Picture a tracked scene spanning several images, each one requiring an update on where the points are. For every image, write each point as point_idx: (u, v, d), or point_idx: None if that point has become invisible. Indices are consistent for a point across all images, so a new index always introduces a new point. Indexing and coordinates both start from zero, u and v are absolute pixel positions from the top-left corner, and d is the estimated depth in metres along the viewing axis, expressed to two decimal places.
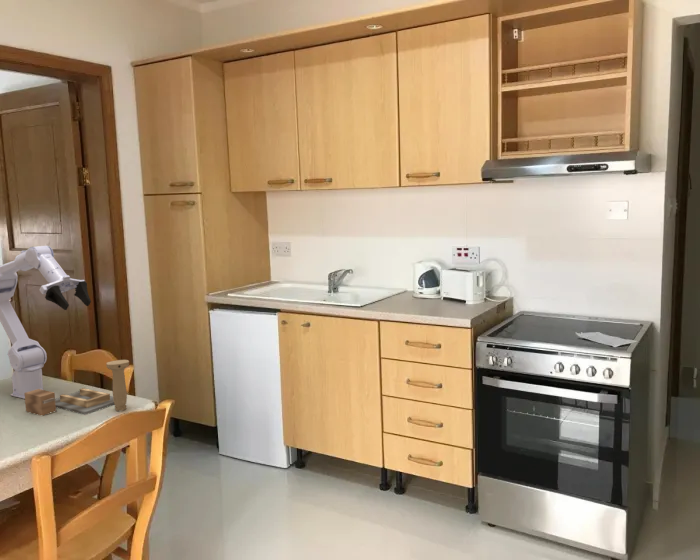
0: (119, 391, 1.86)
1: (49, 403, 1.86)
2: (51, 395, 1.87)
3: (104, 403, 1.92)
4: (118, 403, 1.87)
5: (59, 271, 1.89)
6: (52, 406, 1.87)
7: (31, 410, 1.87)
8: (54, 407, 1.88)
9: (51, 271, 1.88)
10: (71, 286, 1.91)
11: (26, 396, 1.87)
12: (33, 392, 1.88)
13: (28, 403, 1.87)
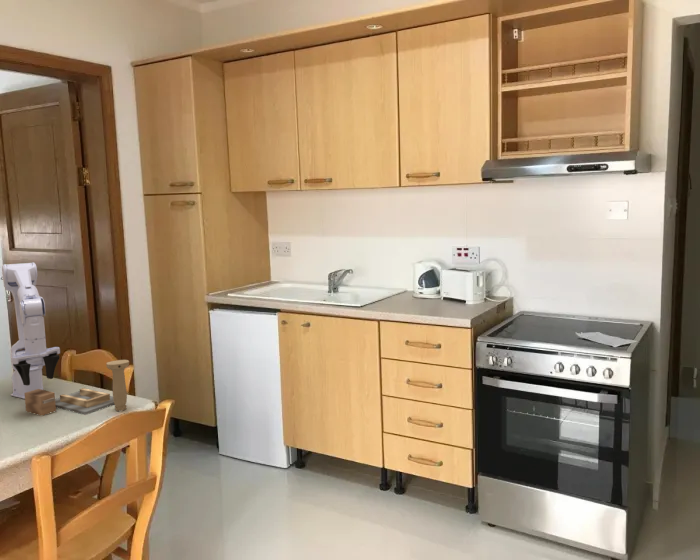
0: (119, 391, 1.86)
1: (49, 403, 1.86)
2: (51, 395, 1.87)
3: (104, 403, 1.92)
4: (118, 403, 1.87)
5: (40, 343, 1.84)
6: (52, 406, 1.87)
7: (31, 410, 1.87)
8: (54, 407, 1.88)
9: (32, 340, 1.83)
10: (43, 355, 1.88)
11: (26, 396, 1.87)
12: (33, 392, 1.88)
13: (28, 403, 1.87)
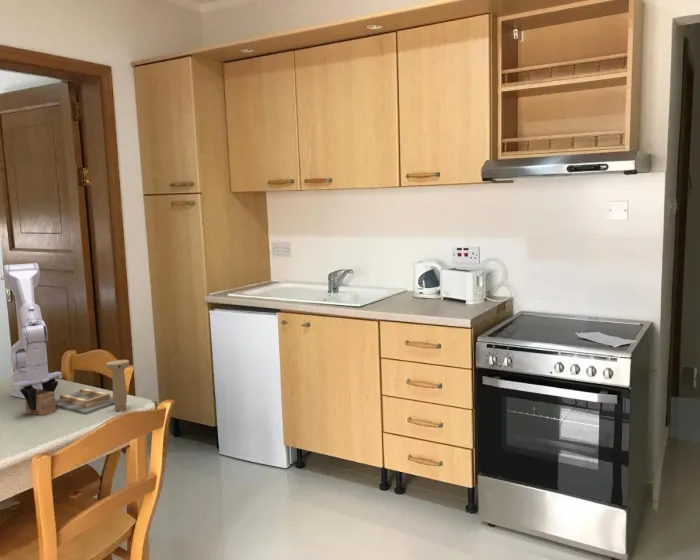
0: (119, 391, 1.86)
1: (49, 403, 1.86)
2: (51, 395, 1.87)
3: (104, 403, 1.92)
4: (118, 403, 1.87)
5: (42, 369, 1.85)
6: (52, 405, 1.87)
7: (31, 410, 1.87)
8: (54, 407, 1.88)
9: (35, 366, 1.84)
10: (45, 380, 1.89)
11: None
12: None
13: None
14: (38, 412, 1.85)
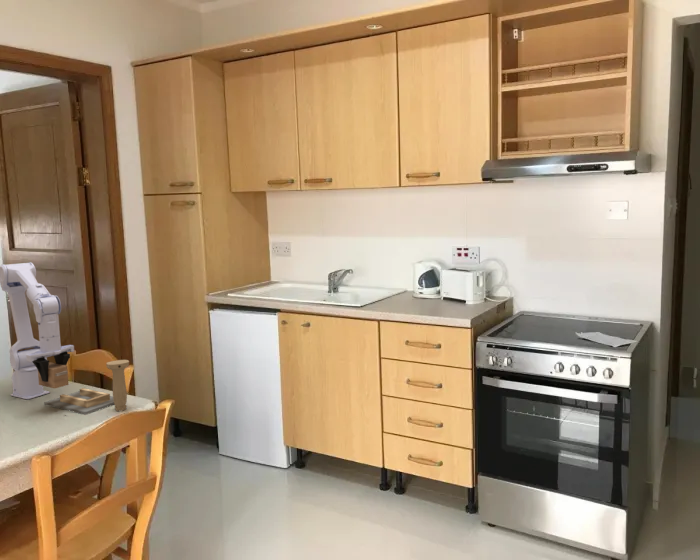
0: (119, 391, 1.86)
1: (62, 376, 1.88)
2: (64, 368, 1.88)
3: (104, 403, 1.92)
4: (118, 403, 1.87)
5: (55, 341, 1.86)
6: (65, 379, 1.89)
7: (44, 383, 1.88)
8: (67, 380, 1.89)
9: (47, 338, 1.85)
10: None
11: None
12: None
13: None
14: (51, 385, 1.86)
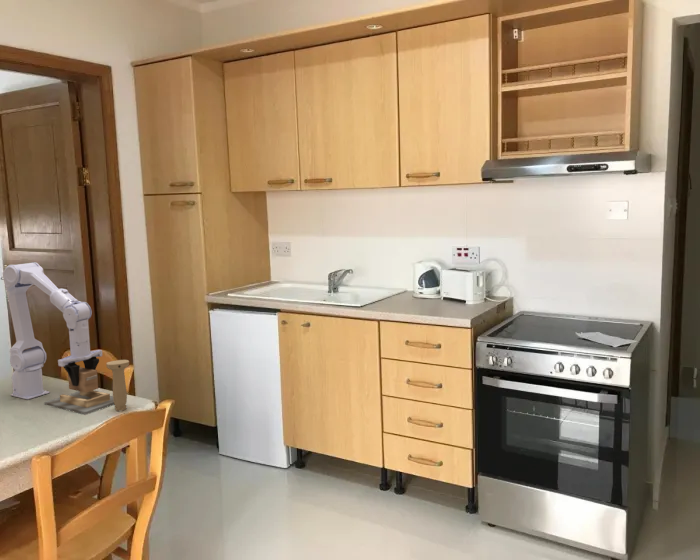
0: (119, 391, 1.86)
1: (92, 380, 1.93)
2: (94, 372, 1.94)
3: (104, 403, 1.92)
4: (118, 403, 1.87)
5: (85, 346, 1.92)
6: (94, 383, 1.94)
7: (74, 387, 1.94)
8: (96, 384, 1.95)
9: (78, 343, 1.91)
10: None
11: None
12: None
13: None
14: (82, 389, 1.92)
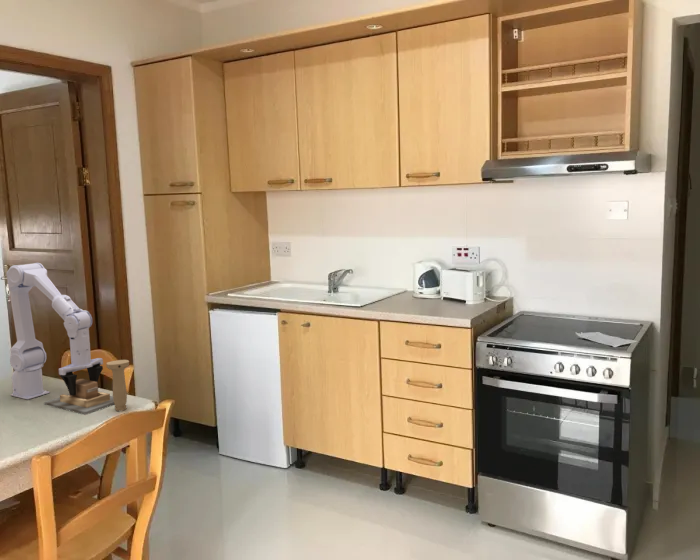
0: (119, 391, 1.86)
1: (92, 392, 1.94)
2: (94, 384, 1.94)
3: (104, 403, 1.92)
4: (118, 403, 1.87)
5: (86, 355, 1.92)
6: (95, 395, 1.94)
7: None
8: (97, 396, 1.95)
9: (79, 352, 1.91)
10: (88, 366, 1.96)
11: None
12: (77, 381, 1.95)
13: None
14: None
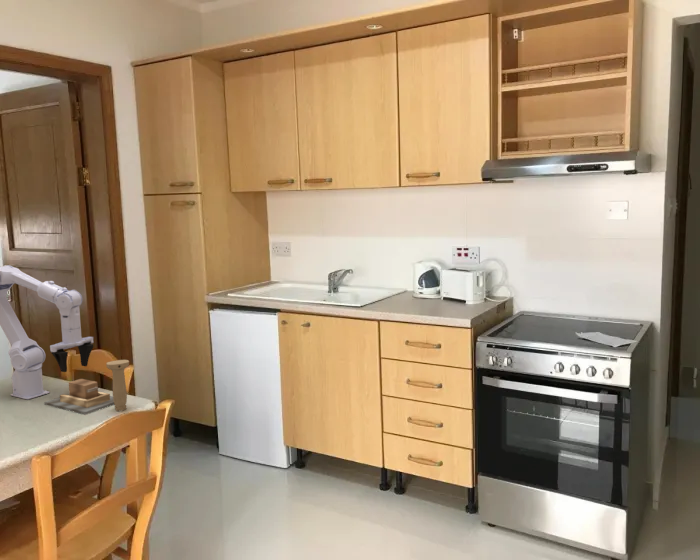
0: (119, 391, 1.86)
1: (92, 392, 1.94)
2: (94, 384, 1.94)
3: (104, 403, 1.92)
4: (118, 403, 1.87)
5: (76, 332, 1.98)
6: (95, 395, 1.94)
7: None
8: (97, 396, 1.95)
9: (69, 330, 1.97)
10: (79, 344, 2.02)
11: (70, 385, 1.95)
12: (77, 381, 1.95)
13: (72, 392, 1.94)
14: None
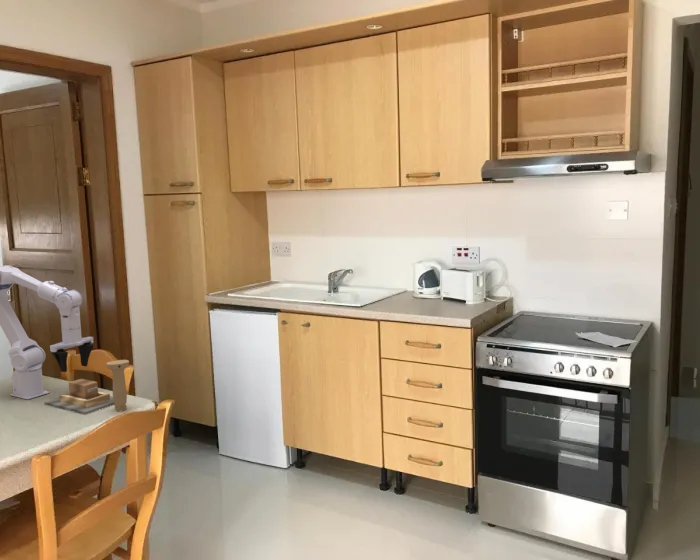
0: (119, 391, 1.86)
1: (92, 392, 1.94)
2: (94, 384, 1.94)
3: (104, 403, 1.92)
4: (118, 403, 1.87)
5: (76, 332, 1.98)
6: (95, 395, 1.94)
7: None
8: (97, 396, 1.95)
9: (69, 330, 1.97)
10: (79, 344, 2.02)
11: (70, 385, 1.95)
12: (77, 381, 1.95)
13: (72, 392, 1.94)
14: None
